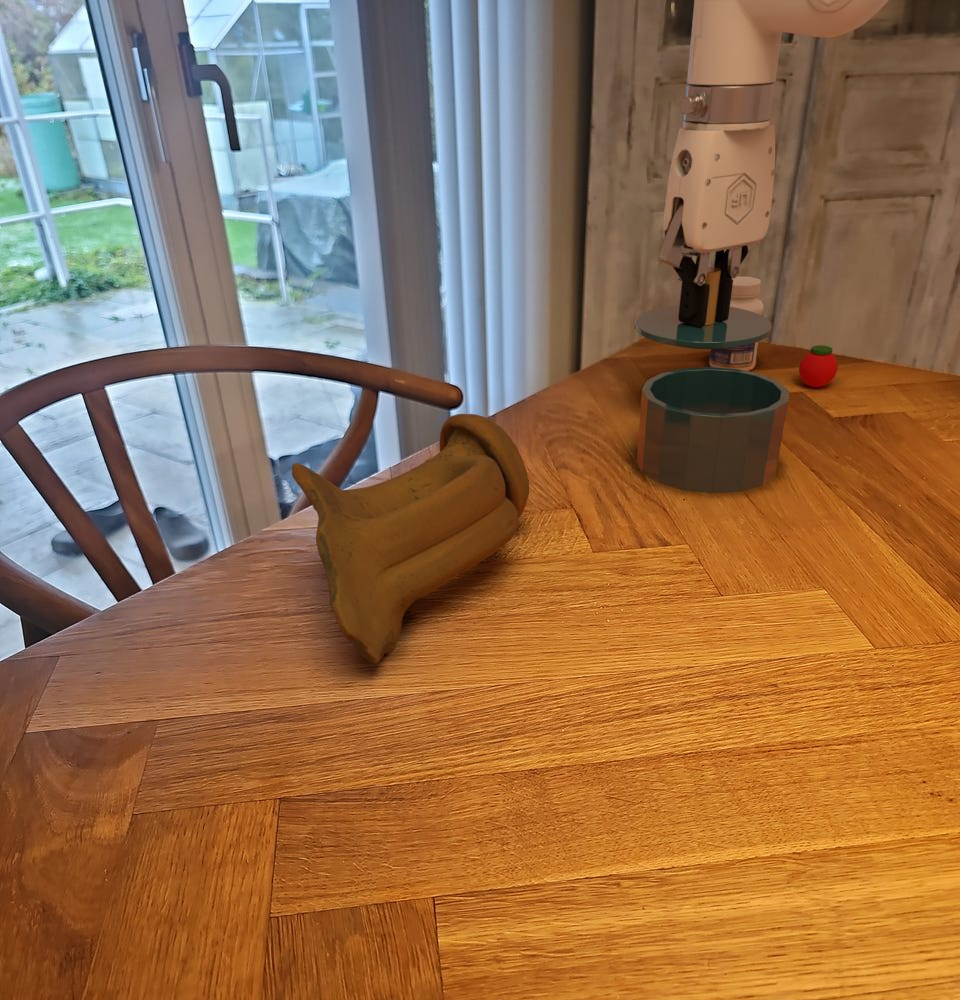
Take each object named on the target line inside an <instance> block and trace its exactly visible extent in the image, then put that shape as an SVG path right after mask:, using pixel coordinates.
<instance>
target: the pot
mask: <svg viewBox="0 0 960 1000" xmlns="http://www.w3.org/2000/svg"><path fill="white" fill-rule="evenodd" d="M789 398H790V391H789V389H787V387H785V385H784V384H782V383H781V382H780V381H779V380H776V379H774V378H771V377H769V376H766V375H764V374H761V373H758V372H754V371H744V370H739V369H729V368H715V367H711V366H705V367H704V366H703V367H688V368H687V367H686V368H679V369H674V370H670V371H666V372H665V371H664V372H661V373H658V374H657V375H654V376H653V377H651V378H649V379H647V380H646V382H645V384H644V385H643V387H642V389H641V398H640V411H639V412H640V414H639V425H638V439H637V452H636V464H637V466H638V467H639V469H640V471H641V473H642V474H644V475H645V476H646V477H648V478H650V479H652V480H653V481H654V482H656V483H657V484H661V485H664V486H668V487H671V488H674V489H677V490H680V491H685V492H693V493H694V492H695V493H704V494H725V493H727V494H728V493H740V492H745V491H748V490H752V489H755V488H758V487H762V486H764V485H766V484H767V483H768V482H769V481H771V480H772V479H773V478H775V477H776V474H777V467H778V461H779V456H780V452H781V451H780V450H781V445H782V440H783V433H784V427H785V421H786V416H787V412H788V411H787V410H788V405H789Z"/></svg>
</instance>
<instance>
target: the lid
mask: <svg viewBox="0 0 960 1000" xmlns="http://www.w3.org/2000/svg"><path fill="white" fill-rule="evenodd" d="M720 276H721V269H719V268H715V267H711V266H708V271H707V278H706V281H705V284H709V285H710V291H709V299H708V308H707V316H706V323H705V325H704V326H703V327H695V326H692V325H689V324H686V323H682V322H680V321H679V319H678V316H679V306H680V304H677V305H668V306H662V307H657V308H653V309H650V310H647V311H644V312H642V313H641V314H640V315H639V314H638V316H637V317H636V319H635V321H634V329H635V331H636V333H637V334H639V335H640V336H642V337H644V338H646V339H647V340H650V341H652V342H656V343H659V344H664V345H668V346H673V347H679V348H687V349H695V350H696V349H697V350H711V349H719V348H730V347H738V346H744V345H749V344H753V343H756V342H759V343H760V342H762V341H763V340H765V339H766V338H768V337H769V336H770V334H771V331H772V322H771V321H770V319H768V318H767V317H766V316H764V315H763V316H762V315H760V314H757V313H754V312H751V311H748V310H744V309H739V308H734V307H730V309H729V316H728V320H726V321H718V320H715V316H716V308H717V300H718V292H719V284H720Z"/></svg>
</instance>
